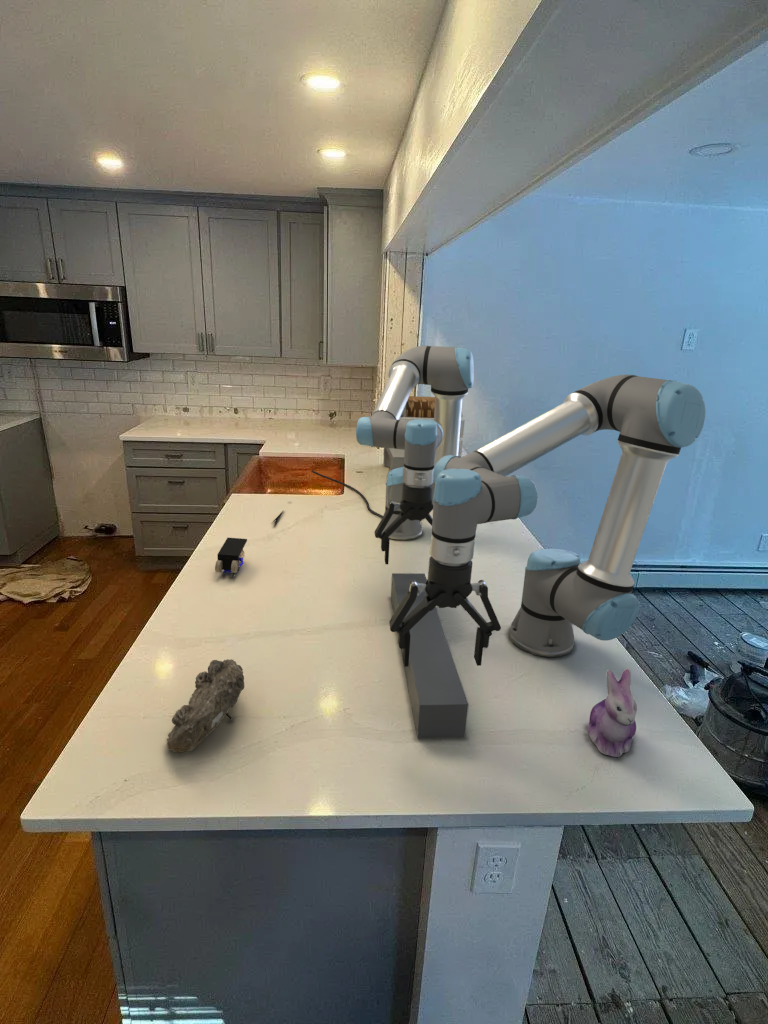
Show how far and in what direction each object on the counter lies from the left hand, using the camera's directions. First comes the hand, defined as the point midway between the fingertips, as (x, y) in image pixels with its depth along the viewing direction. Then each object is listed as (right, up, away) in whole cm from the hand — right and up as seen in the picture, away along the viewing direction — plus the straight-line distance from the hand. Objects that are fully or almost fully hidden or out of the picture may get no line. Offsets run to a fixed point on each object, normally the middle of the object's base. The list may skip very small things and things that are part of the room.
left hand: (412, 562), depth 147 cm
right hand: (+3, -15, -41) cm, 44 cm away
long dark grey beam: (+1, -20, -16) cm, 25 cm away
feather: (-46, +12, +67) cm, 82 cm away
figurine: (+35, -30, -40) cm, 61 cm away
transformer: (+10, +32, +128) cm, 133 cm away
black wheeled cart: (-52, -4, +21) cm, 56 cm away
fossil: (-40, -26, -39) cm, 61 cm away
